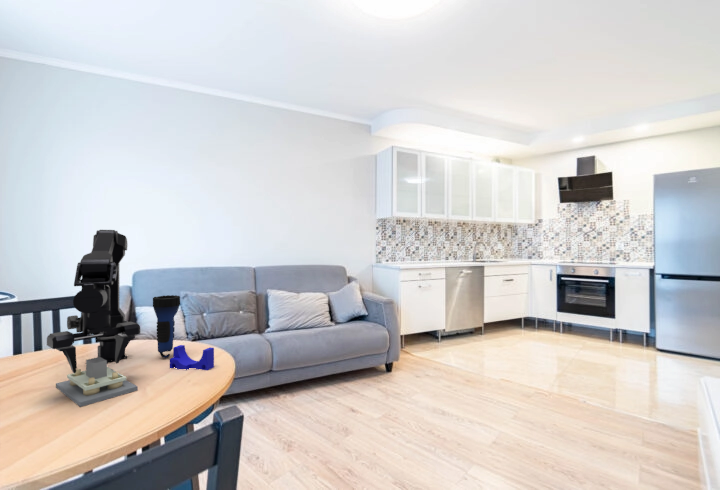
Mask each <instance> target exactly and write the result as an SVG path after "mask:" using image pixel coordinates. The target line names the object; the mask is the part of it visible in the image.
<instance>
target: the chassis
mask: <svg viewBox="0 0 720 490" xmlns="http://www.w3.org/2000/svg"><path fill="white" fill-rule="evenodd" d="M81 371H82V369H81V368H76V373H75V376H80V375H81ZM118 373H119V372H118V371H116V372H113V373H112V380H113V379H117V378H118ZM93 384H95V378H94V377H92V378H89V382H88V386H89V385H93ZM55 388H56V389H58V390H59V391H60V392H61V393H63V395H64V396H66V397H67V398H69V399H70V400H71V401H72V402H74V404H76V405H77V406H79V408H82V407H84V406H89V405H92V404H94V403H95V404H96V403H99V402H102V401H105V400H108V399H113V398H115V397H116V398H117V397H120V396H124V395H125V394H126V395H127V394H130V393H134V392H137V391H138V390H139V389H138V388H139V386H138V385H136V384H135V383H132V382H130V381H128V379H126V380H125V381H121V382H117V383H113V384H110V385H106V386H102V387H98V388H94V389H91V390H87V391H85V390H84V389H82V388H81V387H79V386H78V385H77V384H75V383H74V382H72V381H71V380H69V379H68V380H65V381H60V382H56V383H55Z"/></svg>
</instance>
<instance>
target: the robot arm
mask: <svg viewBox="0 0 720 490" xmlns="http://www.w3.org/2000/svg"><path fill="white" fill-rule="evenodd" d="M126 251H128V237H127V236H126V235H124V234H123V233H119V232H118V230H115V229H99V230H96V233H95V234H93V240H92V249H91V252H89V253H86V254H84V255H83V256H82V258H81V260H80V261H79V262H77V265H76V270H75V276H74V283H73V286H74V287H81V290H79V291H78V292H77V293H76V294H75V295H74V297H73V299H72V304H73V307H74V308H75V309H76V311H78V312H80V317H79V316H78V315H77V314H76V315H69V316H67V318H66V327H67V330H66V331H65V330H64V331H59V332H52V333H49V334H48V335H47V337H46V346H48V347H49V348H50V349H52V350H57V351H59V352H62V353H63V354H64V356H65V358H66V360H67V362H68V364H69V367H70V369H71V371H72V373H76V370H77V369H78V368H77V350H76V347H77V346H75V345H74V343H75V342H79V341H86V340H90V339H91V340H92V339H94V340H95V343H99V345H97V357H101V358H103V359H105V360H107V363H110V362H113V361H114V363H116V364H119V362H120V360H123V359H127V358H128V356H127V355H126V348H127V346H128V345H129V344H130V342H131V340H132V339H135V338H136V336H137V335H141V325H140V324H138V323H137V322H133V321H128V320H126V314H125V312H123V310H122V309H121V307H120V262H121V261H122V260H123V258H124V257H125V256H126ZM73 329H74V330H76V332H75V333H73V332H70V331H68V330H73Z"/></svg>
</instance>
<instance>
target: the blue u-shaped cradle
mask: <svg viewBox="0 0 720 490" xmlns="http://www.w3.org/2000/svg"><path fill="white" fill-rule="evenodd" d="M172 350H173V353H172V354H173V357H171V358H169V369H170V368H174V367H175V368H177V369H176V370H179V369H186V370H185V371H188V370H190V369H189V368H196V369H195V370H199V369H202V370H201V371H209V370H211V369H213V368H215V348H214V347H207V348H205V349H203V350H202V355H201V357H200V359H199V360H194V359H192V358H191V357H190V356H189V355H188V353H187V351H186V347H185V344H179V345H177V346H173V349H172ZM187 369H188V370H187Z"/></svg>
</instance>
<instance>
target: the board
mask: <svg viewBox="0 0 720 490" xmlns="http://www.w3.org/2000/svg"><path fill="white" fill-rule="evenodd" d="M113 372H117V371H116V370H114V369H113V368H110V367H108V362H107V360H105V359H103V358H101V357H98V356H97V357H92V358H88V359H85V370H81V375H80V376H75V373H73V372H72V373H69V374H66V378H67V379H68V380H71V381H72V382H74V383H75V384H77V385H78V386H79V387H81V388H82V389H84V390H85V391H87V390H91V389H94V388H98V387H102V386H106V385H110V384H113V383H117V382H121V381H125V380H127V376H126V375H124V374H121V373H119V372H118V378H117V379H113V380H112V373H113ZM92 377H94V378H95V384H93V385H89V386H88V382H89V378H92Z"/></svg>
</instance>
